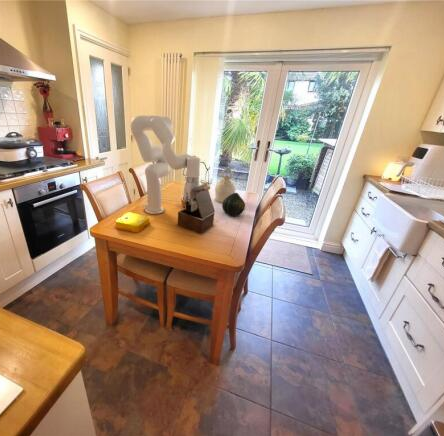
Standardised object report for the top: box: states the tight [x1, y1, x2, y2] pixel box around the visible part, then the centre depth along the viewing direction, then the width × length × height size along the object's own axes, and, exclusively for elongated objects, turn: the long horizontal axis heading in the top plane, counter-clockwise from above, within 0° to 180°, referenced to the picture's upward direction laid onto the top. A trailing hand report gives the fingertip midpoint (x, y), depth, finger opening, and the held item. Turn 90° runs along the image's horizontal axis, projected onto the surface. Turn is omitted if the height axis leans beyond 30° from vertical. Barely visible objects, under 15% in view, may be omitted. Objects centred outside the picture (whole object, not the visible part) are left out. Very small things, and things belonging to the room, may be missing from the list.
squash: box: [221, 192, 246, 217], centre depth 157 cm, size 14×15×15 cm
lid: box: [192, 183, 216, 219], centre depth 130 cm, size 17×14×5 cm
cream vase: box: [214, 167, 236, 204], centre depth 177 cm, size 15×16×25 cm
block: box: [184, 200, 198, 212], centre depth 138 cm, size 5×5×5 cm
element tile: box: [115, 211, 150, 233], centre depth 137 cm, size 15×15×5 cm
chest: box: [177, 206, 215, 235], centre depth 139 cm, size 17×14×9 cm
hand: (191, 208), depth 139 cm, fingers closed on block, 5 cm apart
